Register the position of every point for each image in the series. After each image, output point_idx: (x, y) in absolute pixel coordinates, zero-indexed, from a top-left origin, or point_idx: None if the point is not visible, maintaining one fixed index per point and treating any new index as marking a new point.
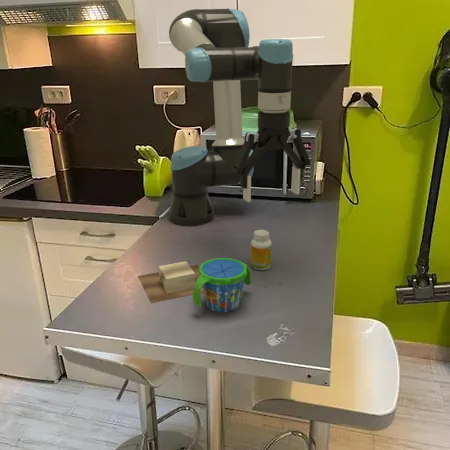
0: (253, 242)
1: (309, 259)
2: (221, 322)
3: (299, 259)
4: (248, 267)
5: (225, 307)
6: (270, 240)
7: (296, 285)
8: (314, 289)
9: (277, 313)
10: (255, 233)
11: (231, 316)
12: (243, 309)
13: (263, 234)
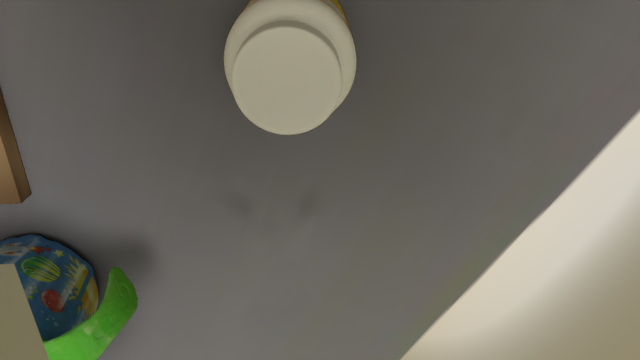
0: (230, 73)
1: (558, 57)
2: None
3: (514, 37)
4: (99, 356)
5: None
6: (347, 84)
7: (360, 240)
8: (405, 283)
9: (213, 357)
10: (239, 82)
11: None
12: None
13: (286, 119)
